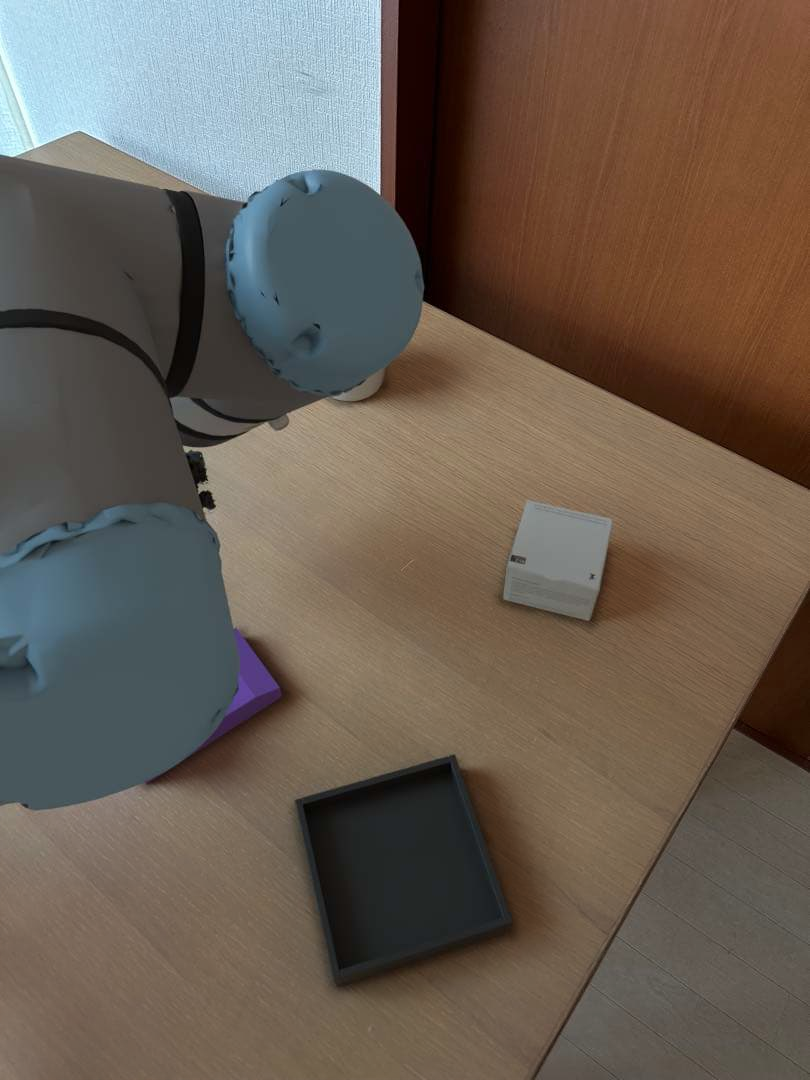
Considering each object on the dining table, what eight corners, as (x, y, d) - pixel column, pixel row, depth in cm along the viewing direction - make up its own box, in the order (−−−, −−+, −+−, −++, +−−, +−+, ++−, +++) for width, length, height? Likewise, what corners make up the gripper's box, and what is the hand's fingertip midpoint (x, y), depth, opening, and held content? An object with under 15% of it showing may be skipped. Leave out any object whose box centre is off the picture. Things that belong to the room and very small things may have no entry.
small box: (605, 553, 75) (616, 517, 71) (589, 624, 70) (600, 590, 66) (520, 532, 76) (526, 496, 72) (500, 601, 72) (505, 567, 68)
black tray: (336, 987, 54) (333, 980, 52) (298, 811, 61) (294, 799, 59) (509, 931, 56) (512, 922, 54) (453, 767, 63) (454, 753, 61)
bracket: (146, 784, 62) (120, 747, 57) (107, 716, 66) (79, 676, 60) (282, 696, 67) (270, 654, 61) (239, 637, 70) (224, 592, 65)
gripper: (114, 524, 39) (46, 543, 59) (374, 345, 47) (235, 416, 67) (11, 388, 37) (-24, 455, 57) (300, 224, 45) (180, 334, 65)
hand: (116, 434), depth 62 cm, fingers closed on beverage can, 4 cm apart
